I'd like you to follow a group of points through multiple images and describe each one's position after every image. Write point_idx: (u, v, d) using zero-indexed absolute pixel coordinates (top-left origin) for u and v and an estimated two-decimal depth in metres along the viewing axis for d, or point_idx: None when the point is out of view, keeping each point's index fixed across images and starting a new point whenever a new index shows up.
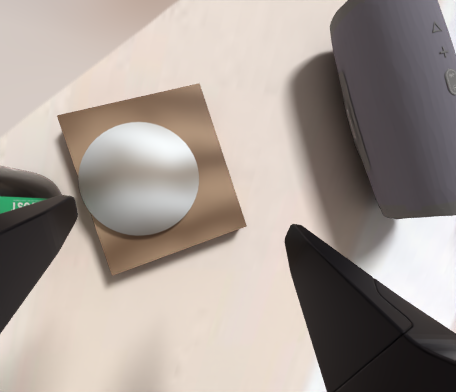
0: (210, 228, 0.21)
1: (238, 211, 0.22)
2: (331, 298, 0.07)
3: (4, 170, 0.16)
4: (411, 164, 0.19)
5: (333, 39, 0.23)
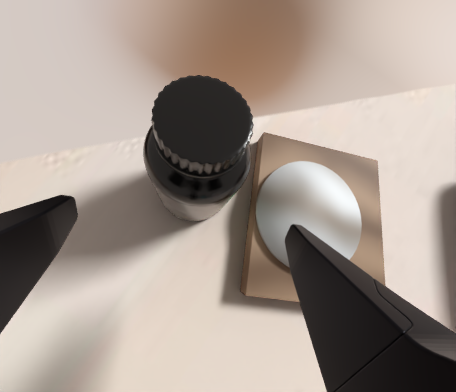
0: None
1: None
2: (331, 298, 0.07)
3: None
4: None
5: None
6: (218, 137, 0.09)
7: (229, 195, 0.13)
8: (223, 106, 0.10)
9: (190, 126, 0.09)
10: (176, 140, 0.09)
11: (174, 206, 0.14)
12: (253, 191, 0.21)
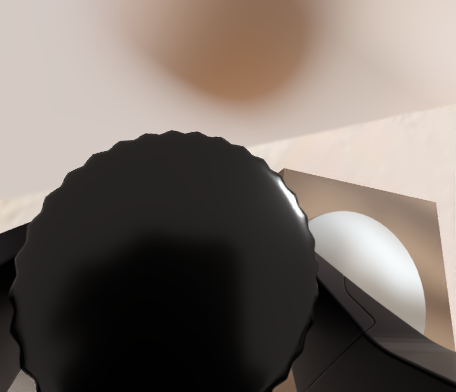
0: None
1: None
2: None
3: None
4: None
5: None
6: (225, 330, 0.03)
7: None
8: (238, 220, 0.04)
9: (139, 305, 0.03)
10: (86, 372, 0.03)
11: None
12: None
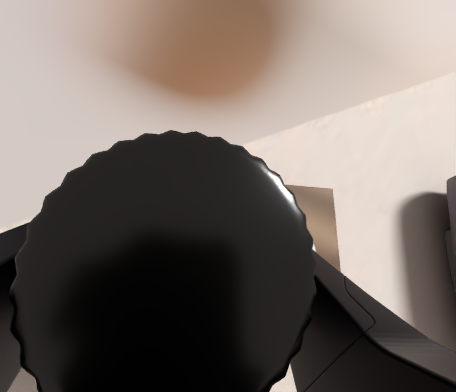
0: None
1: None
2: None
3: None
4: None
5: (454, 190, 0.25)
6: (224, 329, 0.03)
7: None
8: (237, 220, 0.04)
9: (138, 304, 0.03)
10: (86, 370, 0.03)
11: None
12: None
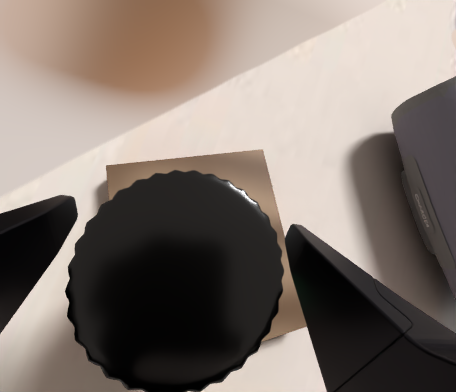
0: None
1: (297, 304, 0.17)
2: (331, 298, 0.07)
3: None
4: None
5: (399, 124, 0.23)
6: (214, 317, 0.04)
7: None
8: (224, 237, 0.05)
9: (153, 299, 0.04)
10: (119, 344, 0.04)
11: None
12: None
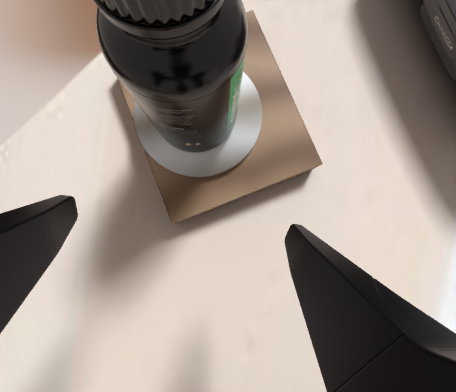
0: (279, 167, 0.18)
1: (310, 146, 0.18)
2: (331, 298, 0.07)
3: None
4: None
5: None
6: None
7: (225, 74, 0.09)
8: None
9: None
10: None
11: (165, 120, 0.11)
12: None
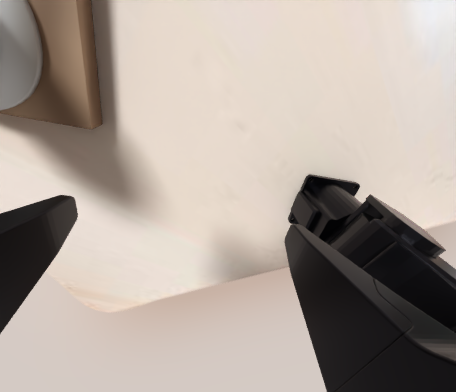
0: None
1: None
2: (331, 298, 0.07)
3: None
4: None
5: None
6: None
7: None
8: None
9: None
10: None
11: None
12: None
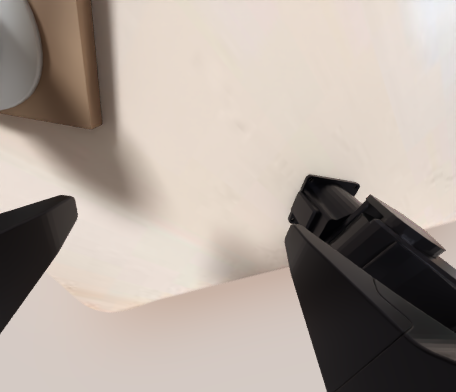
0: None
1: None
2: (331, 298, 0.07)
3: None
4: None
5: None
6: None
7: None
8: None
9: None
10: None
11: None
12: None
